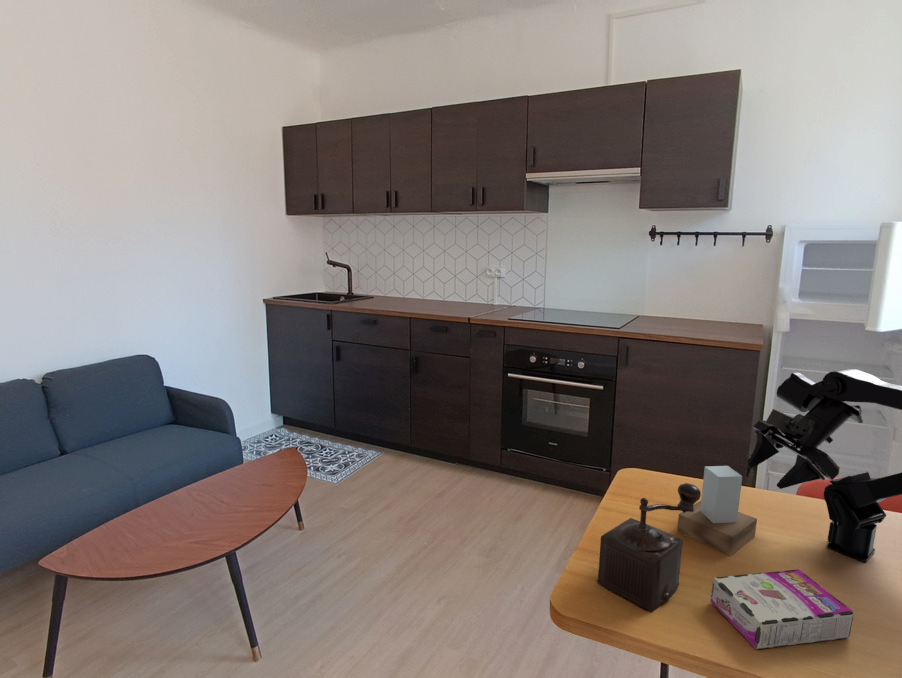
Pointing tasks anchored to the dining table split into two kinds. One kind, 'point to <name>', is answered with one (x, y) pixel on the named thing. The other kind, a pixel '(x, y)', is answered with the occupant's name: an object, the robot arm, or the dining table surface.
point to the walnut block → (717, 530)
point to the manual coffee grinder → (644, 556)
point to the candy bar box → (781, 608)
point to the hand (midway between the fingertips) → (762, 476)
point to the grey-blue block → (721, 494)
